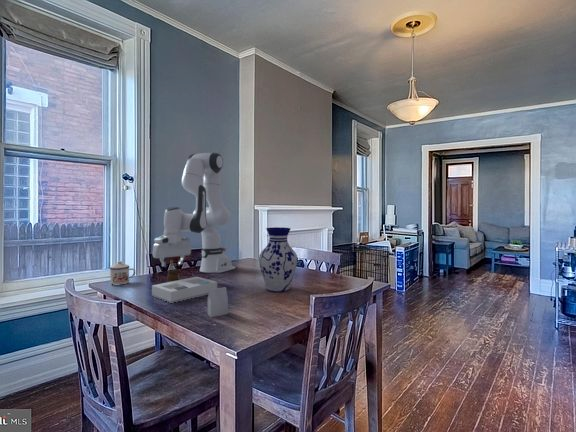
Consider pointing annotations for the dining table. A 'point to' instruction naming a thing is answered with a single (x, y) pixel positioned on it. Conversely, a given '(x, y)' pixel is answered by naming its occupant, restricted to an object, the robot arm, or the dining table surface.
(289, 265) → the vase
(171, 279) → the utensil holder
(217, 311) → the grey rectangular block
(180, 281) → the socket box
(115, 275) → the teacup with lid
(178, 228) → the robot arm
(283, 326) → the dining table surface
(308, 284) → the dining table surface
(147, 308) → the dining table surface
